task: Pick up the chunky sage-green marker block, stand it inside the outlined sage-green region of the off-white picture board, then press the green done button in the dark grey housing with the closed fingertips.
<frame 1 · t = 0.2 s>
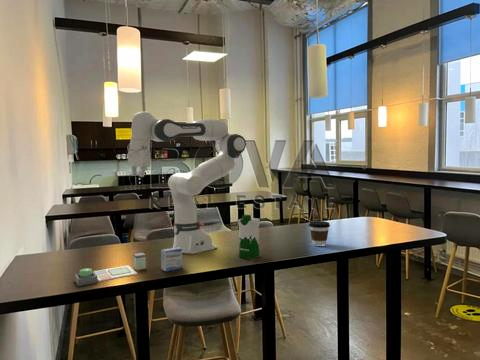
hand: (137, 176, 172), 38 cm above the table, tool pointing down, fingers open, 8 cm apart
medicine box: (172, 269, 157), on the table
marker block: (139, 268, 159), on the table
coffee cup: (319, 245, 194), on the table
milk carton: (249, 257, 174), on the table
done button: (85, 273, 143), point 3 cm above the table, slide at 0.0 cm
picture board: (114, 273, 152), on the table
button housing: (86, 281, 143), on the table
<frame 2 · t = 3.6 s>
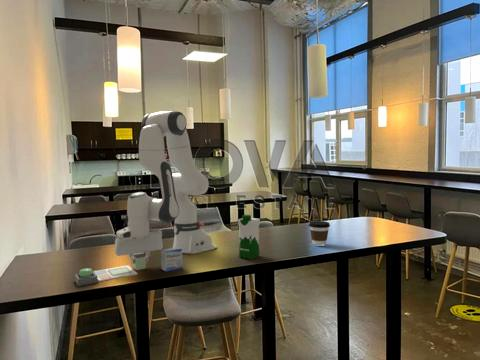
hand: (139, 262, 159), 2 cm above the table, tool pointing down, fingers closed on marker block, 4 cm apart
marker block: (139, 267, 159), on the table, touching gripper
everything else where it was.
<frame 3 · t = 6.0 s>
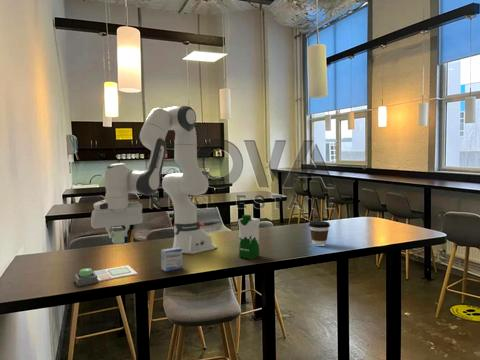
hand: (118, 236, 152), 15 cm above the table, tool pointing down, fingers closed on marker block, 4 cm apart
marker block: (118, 242, 152), point 13 cm above the table, touching gripper
everything else where it was.
when the fingers open (4 cm above the table, at t = 8.3 s): marker block drops 1 cm, resting on picture board.
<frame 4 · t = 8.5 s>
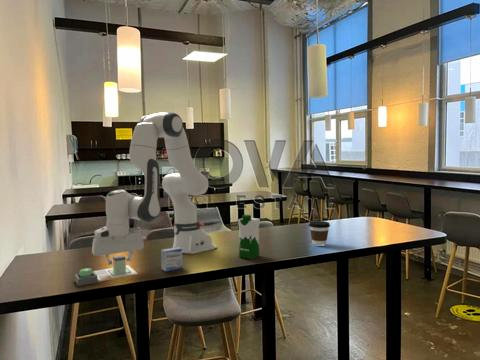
hand: (119, 262, 153), 4 cm above the table, tool pointing down, fingers open, 6 cm apart
marker block: (119, 271, 153), point 1 cm above the table, touching picture board
everything else where it was.
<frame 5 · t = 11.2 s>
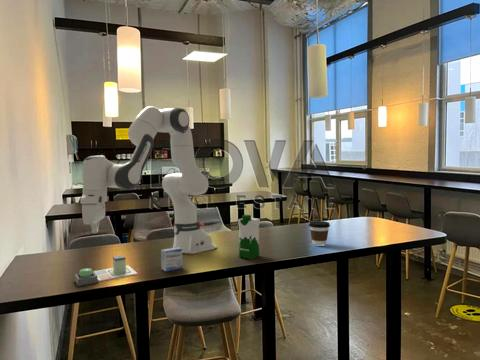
hand: (95, 232, 144), 18 cm above the table, tool pointing down, fingers closed
nothing on the table moved.
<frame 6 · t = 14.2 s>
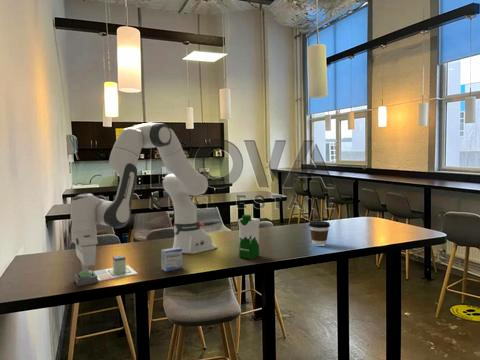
hand: (85, 271, 142), 4 cm above the table, tool pointing down, fingers closed, pressing on done button
done button: (85, 275, 143), point 2 cm above the table, slide at 0.7 cm, touching gripper
everything else where it was.
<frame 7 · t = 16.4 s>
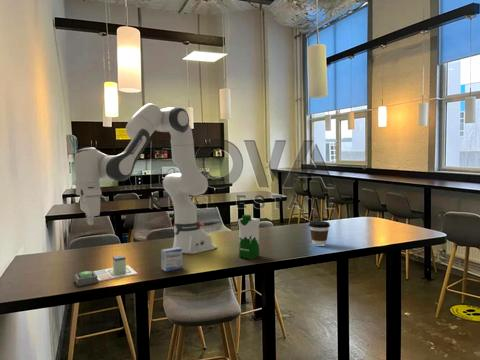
hand: (90, 224, 146), 21 cm above the table, tool pointing down, fingers closed
done button: (86, 276, 143), point 2 cm above the table, slide at 1.1 cm
everything else where it was.
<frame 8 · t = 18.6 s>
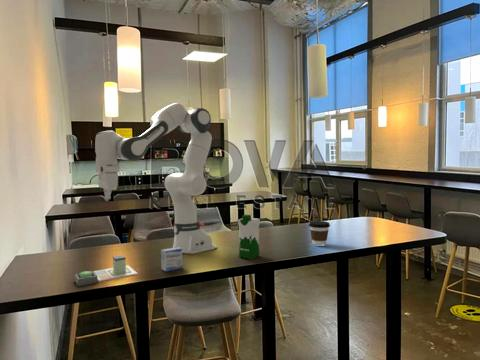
hand: (107, 198, 164), 29 cm above the table, tool pointing down, fingers closed
nothing on the table moved.
at the end: marker block 0.1 cm from the target spot on the picture board, point 0.6 cm above the picture board's base; marker block tilted 0°; done button slide at 1.1 cm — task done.
